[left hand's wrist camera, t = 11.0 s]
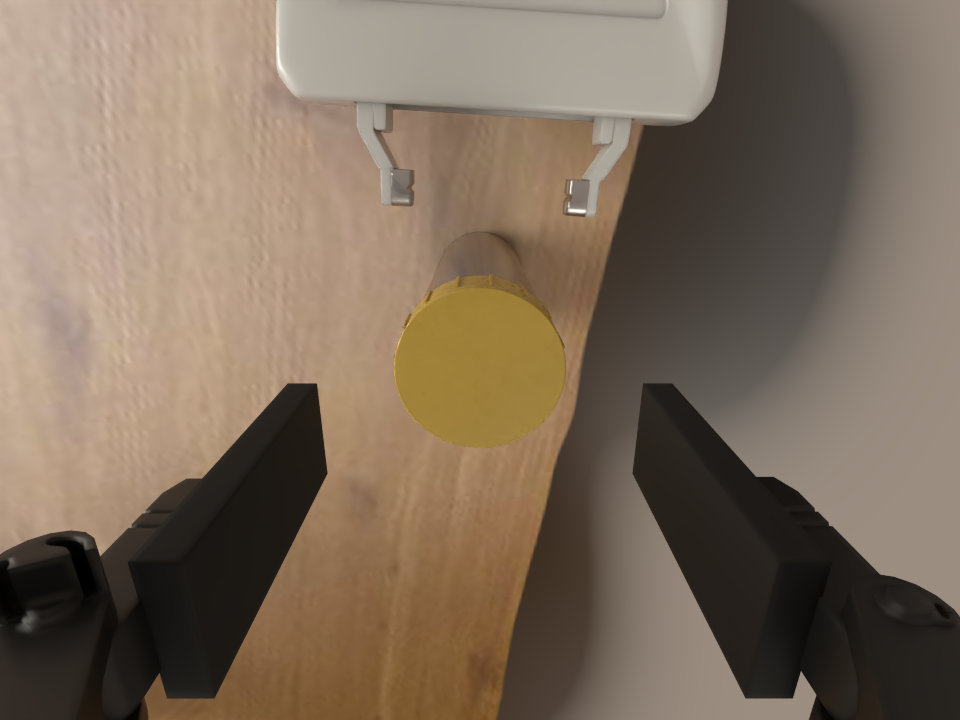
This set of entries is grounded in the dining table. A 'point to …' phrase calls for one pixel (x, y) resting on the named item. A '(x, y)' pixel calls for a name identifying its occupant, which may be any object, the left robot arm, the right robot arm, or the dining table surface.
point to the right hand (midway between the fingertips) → (488, 210)
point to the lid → (480, 362)
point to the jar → (480, 261)
